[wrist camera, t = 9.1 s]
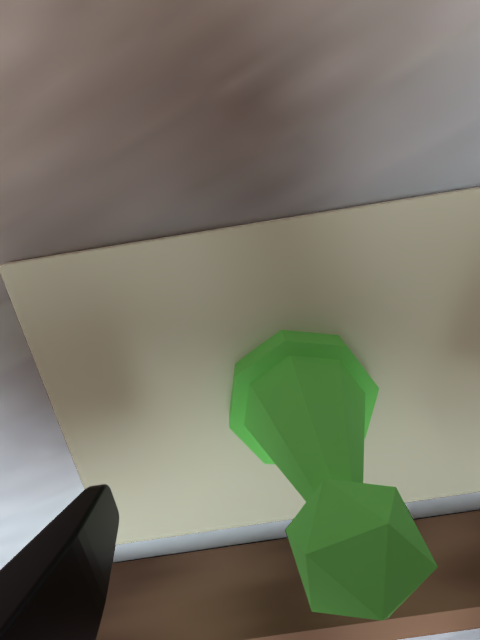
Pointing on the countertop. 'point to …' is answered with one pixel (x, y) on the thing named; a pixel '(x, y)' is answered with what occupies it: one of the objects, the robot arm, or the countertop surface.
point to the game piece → (329, 473)
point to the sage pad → (246, 335)
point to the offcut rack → (285, 594)
